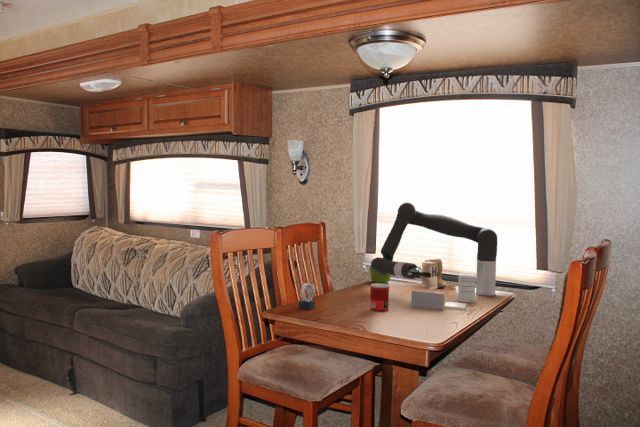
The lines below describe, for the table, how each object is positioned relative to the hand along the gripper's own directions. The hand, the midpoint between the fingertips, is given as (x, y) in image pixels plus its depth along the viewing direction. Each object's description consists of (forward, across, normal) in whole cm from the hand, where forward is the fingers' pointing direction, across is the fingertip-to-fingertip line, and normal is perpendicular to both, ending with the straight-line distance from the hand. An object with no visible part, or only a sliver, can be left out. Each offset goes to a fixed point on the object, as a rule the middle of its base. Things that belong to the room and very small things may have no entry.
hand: (434, 274), depth 239 cm
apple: (-53, +21, +14) cm, 58 cm away
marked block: (-3, 0, +7) cm, 7 cm away
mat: (+9, +3, +14) cm, 17 cm away
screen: (+3, -8, +14) cm, 16 cm away
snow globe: (-29, -52, +13) cm, 61 cm away
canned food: (-8, -28, +14) cm, 32 cm away
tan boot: (-29, +38, +14) cm, 50 cm away
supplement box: (+4, +19, +14) cm, 24 cm away
